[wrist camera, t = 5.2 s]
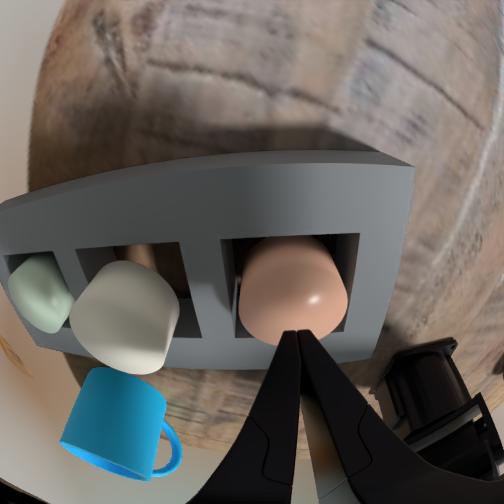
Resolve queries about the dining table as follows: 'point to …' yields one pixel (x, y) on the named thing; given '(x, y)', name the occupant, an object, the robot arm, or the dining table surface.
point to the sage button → (41, 292)
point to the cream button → (126, 317)
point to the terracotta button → (290, 288)
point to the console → (223, 239)
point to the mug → (120, 425)
